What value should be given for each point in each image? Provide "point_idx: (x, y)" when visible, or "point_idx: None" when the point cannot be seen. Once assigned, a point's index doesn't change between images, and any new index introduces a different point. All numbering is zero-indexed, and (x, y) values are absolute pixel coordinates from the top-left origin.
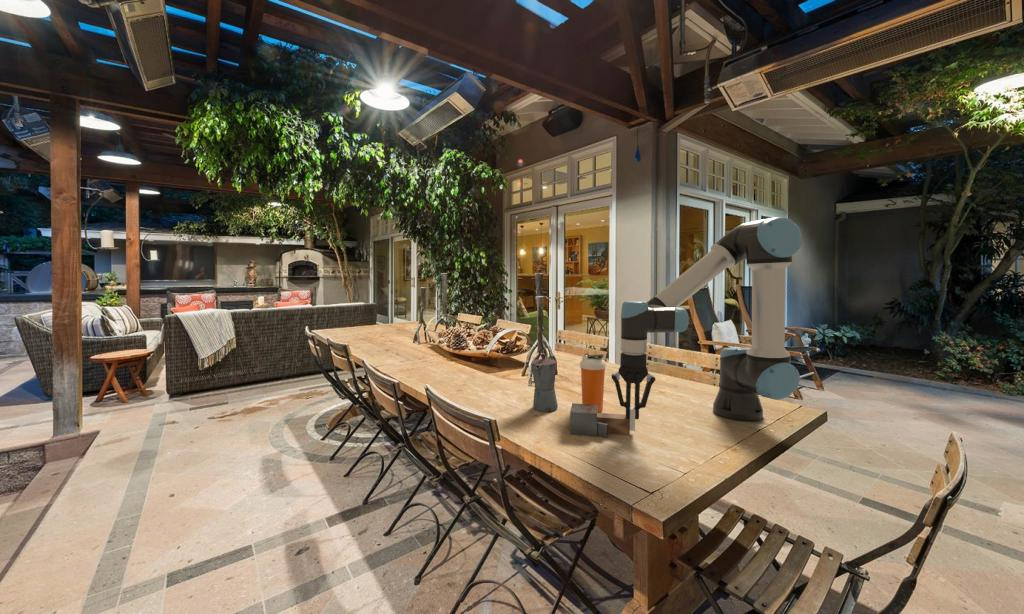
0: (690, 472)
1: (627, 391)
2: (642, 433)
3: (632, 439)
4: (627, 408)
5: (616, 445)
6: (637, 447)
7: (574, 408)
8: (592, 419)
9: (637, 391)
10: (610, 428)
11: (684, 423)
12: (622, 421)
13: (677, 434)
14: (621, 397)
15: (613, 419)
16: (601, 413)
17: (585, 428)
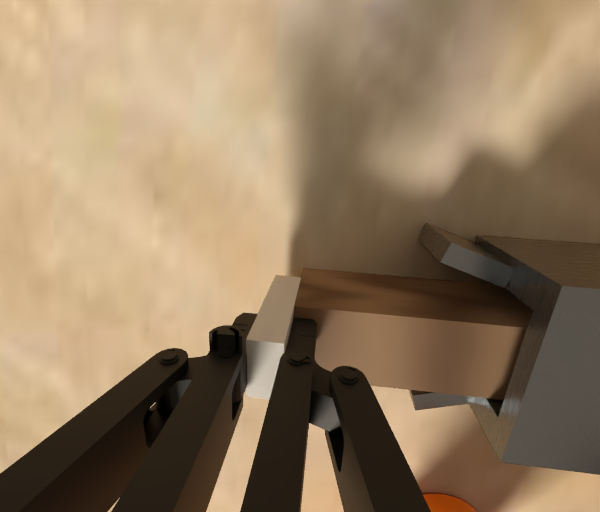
0: None
1: (286, 501)
2: (241, 297)
3: (295, 222)
4: (304, 352)
5: (389, 131)
6: (281, 122)
7: None
8: (565, 271)
9: (152, 490)
10: (402, 288)
11: (70, 408)
12: (339, 302)
13: (95, 301)
14: (360, 433)
15: (397, 311)
16: (462, 388)
17: (567, 252)
